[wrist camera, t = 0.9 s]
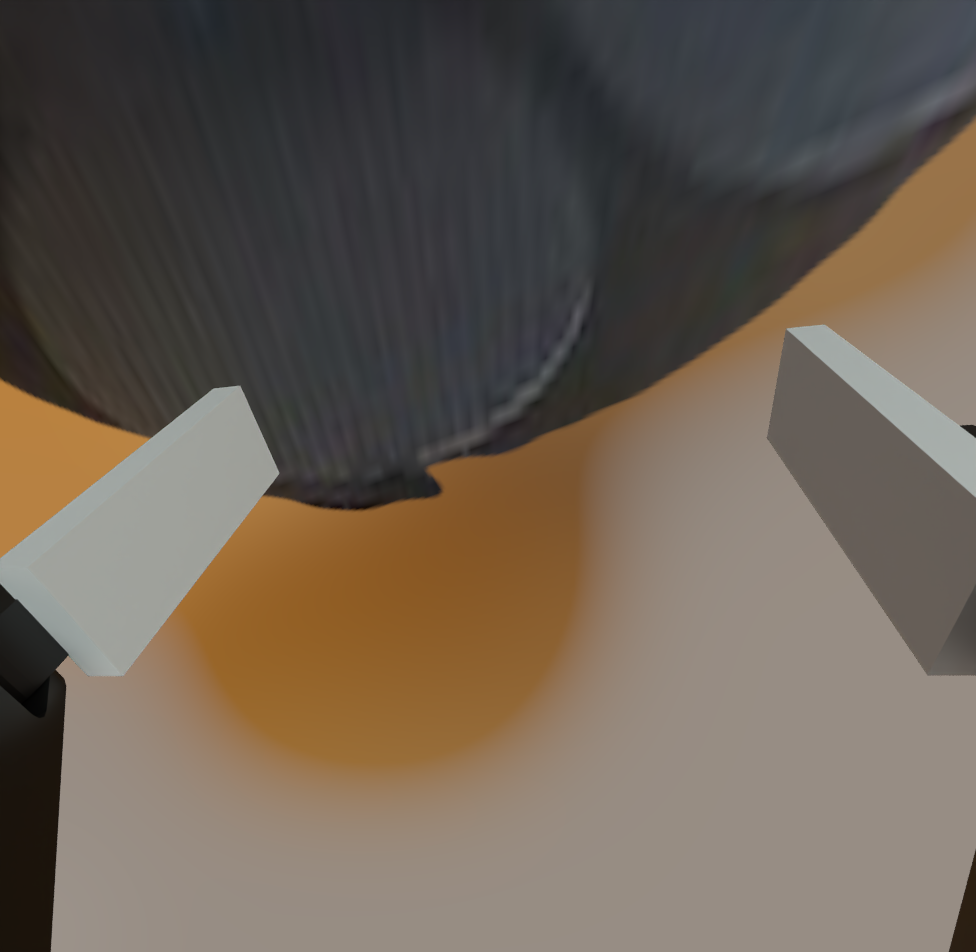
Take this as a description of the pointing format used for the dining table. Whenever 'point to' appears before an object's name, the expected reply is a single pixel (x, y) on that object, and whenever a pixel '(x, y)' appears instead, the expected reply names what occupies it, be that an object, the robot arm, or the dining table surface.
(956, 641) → the robot arm
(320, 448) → the dining table surface
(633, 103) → the dining table surface
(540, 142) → the dining table surface
